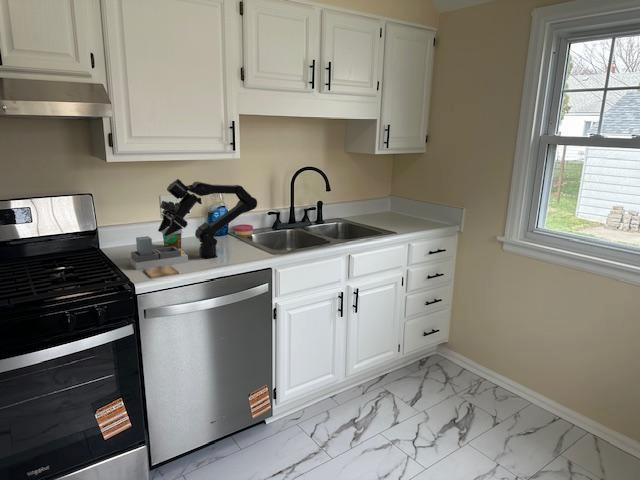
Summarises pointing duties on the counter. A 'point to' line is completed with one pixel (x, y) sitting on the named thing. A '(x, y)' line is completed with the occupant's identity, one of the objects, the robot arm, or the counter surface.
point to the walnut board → (160, 271)
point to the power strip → (158, 258)
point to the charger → (144, 245)
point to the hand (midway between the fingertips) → (161, 233)
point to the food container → (172, 239)
